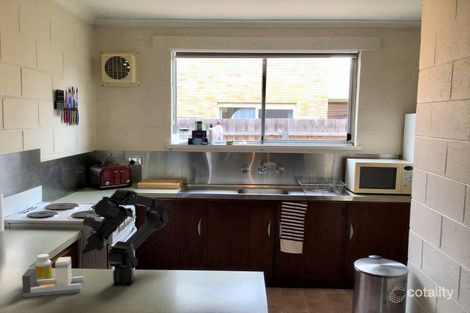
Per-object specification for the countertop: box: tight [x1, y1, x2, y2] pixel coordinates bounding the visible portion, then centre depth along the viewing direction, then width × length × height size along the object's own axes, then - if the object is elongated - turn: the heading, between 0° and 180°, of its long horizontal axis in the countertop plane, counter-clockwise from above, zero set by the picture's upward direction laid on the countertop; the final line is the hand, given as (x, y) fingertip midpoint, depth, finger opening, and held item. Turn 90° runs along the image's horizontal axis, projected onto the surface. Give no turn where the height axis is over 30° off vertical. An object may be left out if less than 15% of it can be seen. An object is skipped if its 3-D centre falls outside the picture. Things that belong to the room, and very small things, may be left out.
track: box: [21, 267, 85, 298], centre depth 136 cm, size 18×8×7 cm, turn 101°
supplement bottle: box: [34, 253, 53, 280], centre depth 144 cm, size 5×5×10 cm
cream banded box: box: [54, 256, 73, 285], centre depth 136 cm, size 4×5×9 cm
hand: (82, 253), depth 137 cm, fingers closed
